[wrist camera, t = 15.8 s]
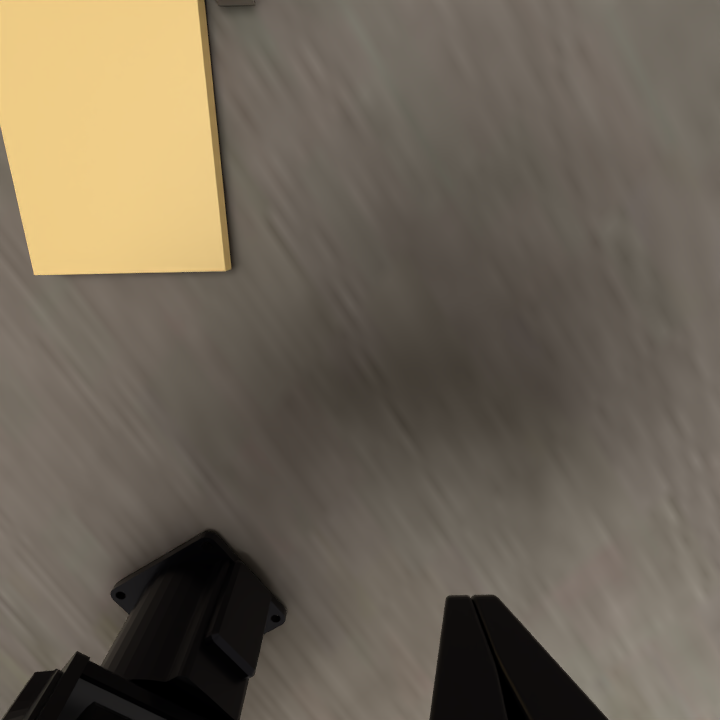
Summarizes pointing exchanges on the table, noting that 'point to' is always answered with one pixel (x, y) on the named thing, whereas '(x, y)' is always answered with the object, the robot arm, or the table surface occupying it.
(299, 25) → the table surface
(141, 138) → the latch flap
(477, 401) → the table surface
